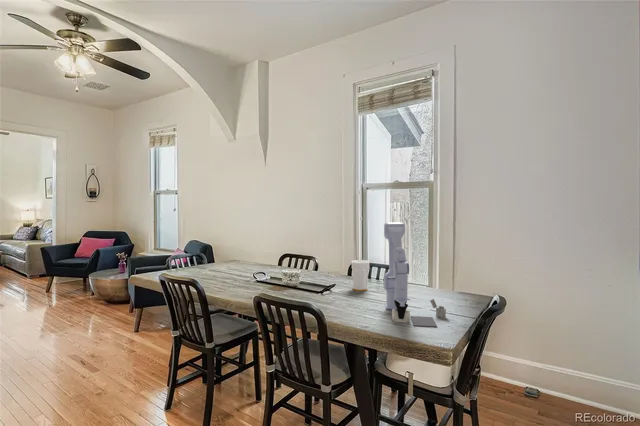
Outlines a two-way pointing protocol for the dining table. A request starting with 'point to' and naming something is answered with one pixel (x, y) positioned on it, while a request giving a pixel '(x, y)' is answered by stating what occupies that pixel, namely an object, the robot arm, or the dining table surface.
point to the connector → (396, 318)
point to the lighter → (439, 309)
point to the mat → (423, 321)
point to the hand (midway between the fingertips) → (400, 317)
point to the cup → (360, 274)
